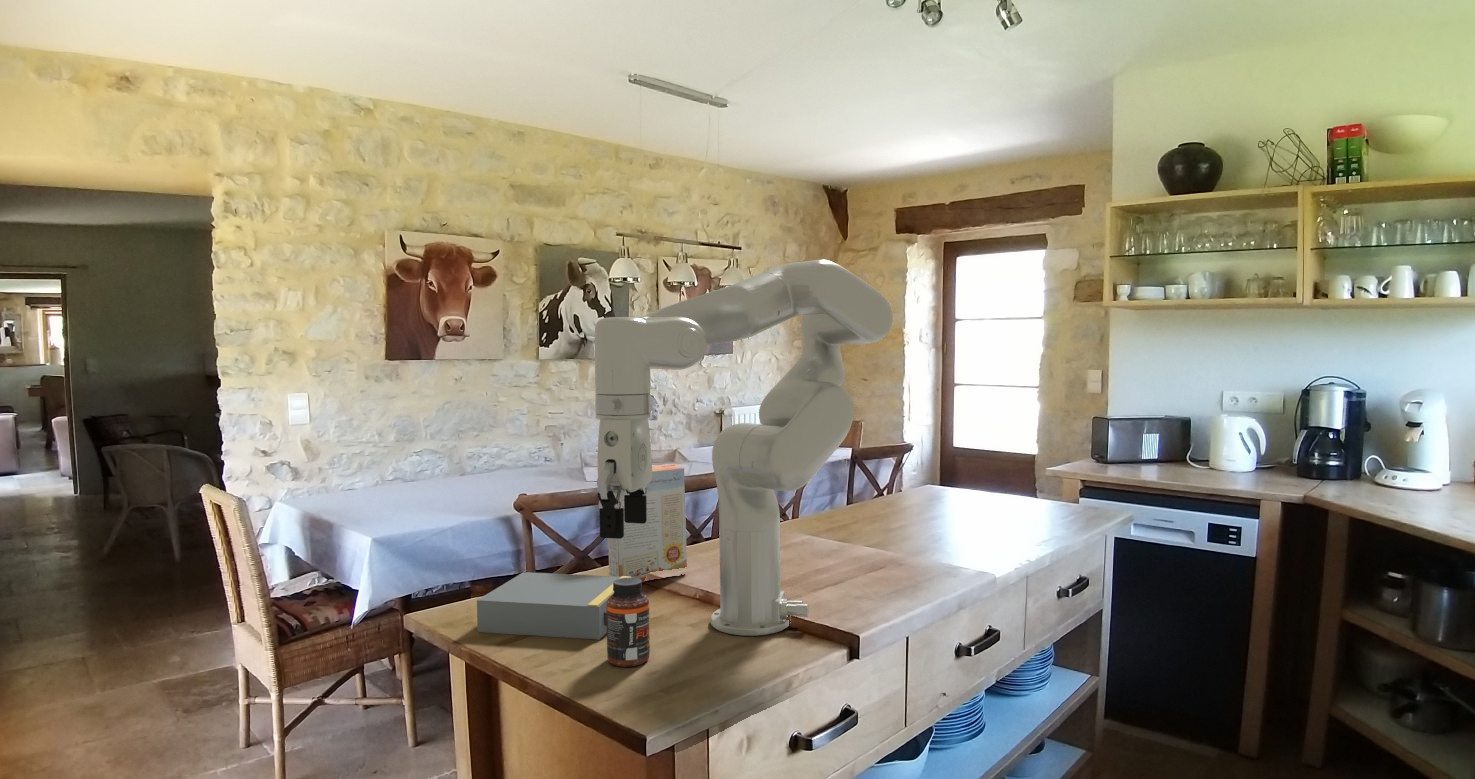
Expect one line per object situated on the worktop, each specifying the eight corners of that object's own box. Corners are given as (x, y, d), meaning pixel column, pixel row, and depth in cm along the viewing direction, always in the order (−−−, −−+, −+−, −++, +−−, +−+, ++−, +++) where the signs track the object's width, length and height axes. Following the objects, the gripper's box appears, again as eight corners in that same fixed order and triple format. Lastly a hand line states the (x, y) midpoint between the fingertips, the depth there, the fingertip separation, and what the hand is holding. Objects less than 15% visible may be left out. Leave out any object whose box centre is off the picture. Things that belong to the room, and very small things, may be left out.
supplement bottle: (643, 669, 114) (641, 587, 113) (601, 667, 115) (599, 586, 114) (654, 653, 119) (653, 575, 119) (614, 651, 120) (613, 574, 120)
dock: (638, 606, 141) (637, 576, 140) (604, 639, 125) (603, 605, 125) (524, 600, 145) (523, 570, 145) (477, 631, 129) (476, 598, 129)
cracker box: (674, 568, 164) (672, 463, 163) (688, 576, 159) (686, 467, 158) (607, 579, 157) (604, 469, 156) (619, 587, 152) (616, 473, 151)
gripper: (628, 412, 106) (629, 545, 107) (667, 403, 123) (667, 518, 123) (572, 411, 107) (574, 543, 108) (618, 402, 124) (619, 516, 125)
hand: (624, 529), depth 116 cm, fingers open, 9 cm apart
